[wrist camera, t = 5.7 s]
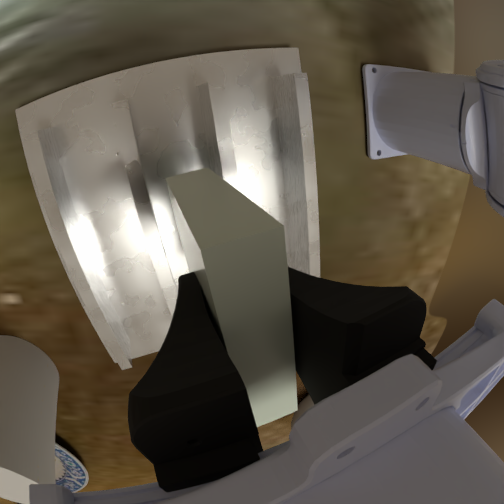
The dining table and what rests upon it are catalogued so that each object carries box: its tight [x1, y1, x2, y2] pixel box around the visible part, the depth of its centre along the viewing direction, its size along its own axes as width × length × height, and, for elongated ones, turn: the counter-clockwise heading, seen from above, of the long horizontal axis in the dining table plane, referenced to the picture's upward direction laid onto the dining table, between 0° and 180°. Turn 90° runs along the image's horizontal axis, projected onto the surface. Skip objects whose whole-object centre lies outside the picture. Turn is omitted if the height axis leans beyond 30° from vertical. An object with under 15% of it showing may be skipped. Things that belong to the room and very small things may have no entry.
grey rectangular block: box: [166, 168, 298, 427], centre depth 12 cm, size 2×8×8 cm, turn 8°
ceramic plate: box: [55, 442, 89, 493], centre depth 21 cm, size 26×26×3 cm
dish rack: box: [15, 48, 320, 370], centre depth 18 cm, size 18×20×4 cm
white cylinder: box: [0, 335, 59, 504], centre depth 15 cm, size 8×8×12 cm
